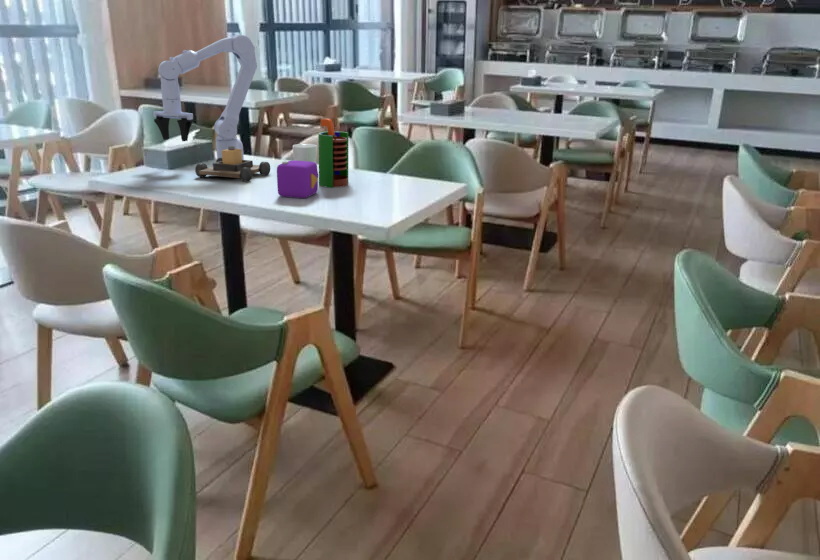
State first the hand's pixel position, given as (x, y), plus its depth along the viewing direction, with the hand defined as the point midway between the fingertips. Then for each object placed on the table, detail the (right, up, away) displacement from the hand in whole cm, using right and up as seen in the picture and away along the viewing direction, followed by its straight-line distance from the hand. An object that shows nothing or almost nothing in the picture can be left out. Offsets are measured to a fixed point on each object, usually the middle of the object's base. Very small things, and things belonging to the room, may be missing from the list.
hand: (175, 140), depth 230 cm
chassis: (+22, -13, -8) cm, 27 cm away
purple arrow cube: (+47, -22, -31) cm, 61 cm away
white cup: (+45, -13, -6) cm, 47 cm away
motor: (+56, -18, -17) cm, 61 cm away
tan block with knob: (+22, -11, -10) cm, 26 cm away
